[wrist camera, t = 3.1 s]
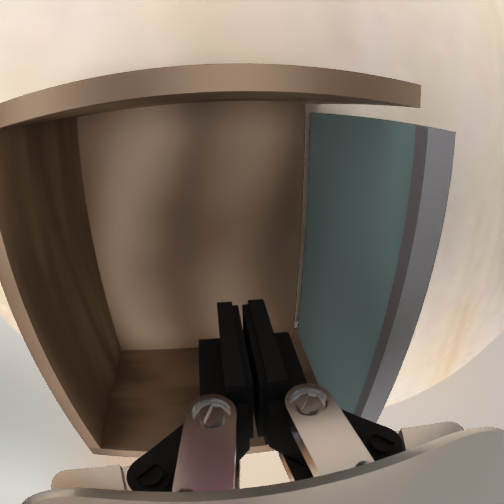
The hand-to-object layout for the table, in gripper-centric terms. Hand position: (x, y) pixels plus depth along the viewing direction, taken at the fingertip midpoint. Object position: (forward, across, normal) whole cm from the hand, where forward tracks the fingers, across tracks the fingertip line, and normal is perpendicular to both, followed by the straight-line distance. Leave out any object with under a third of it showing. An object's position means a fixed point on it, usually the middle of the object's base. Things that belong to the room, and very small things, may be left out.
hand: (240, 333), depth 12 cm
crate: (+10, +2, 0) cm, 10 cm away
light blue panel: (+8, -6, 0) cm, 10 cm away
